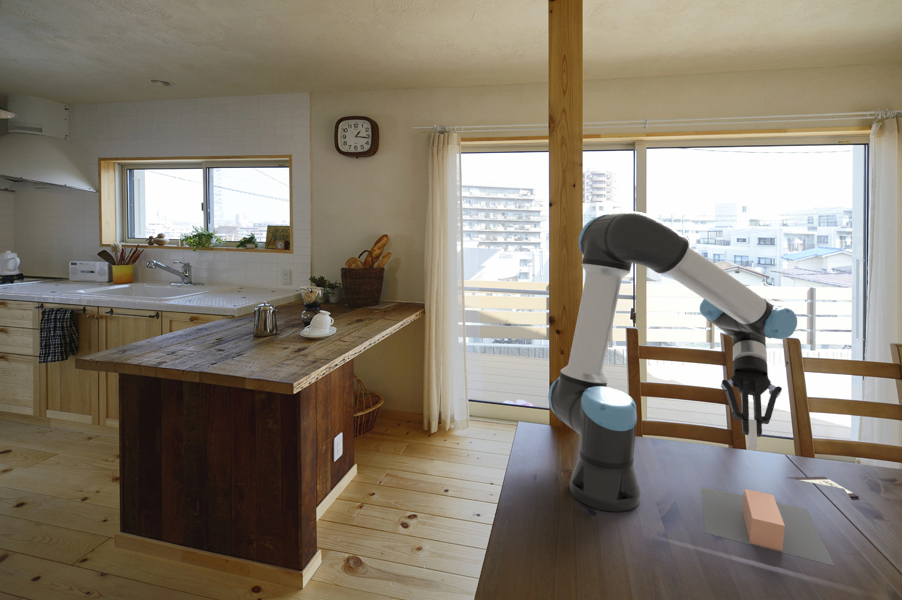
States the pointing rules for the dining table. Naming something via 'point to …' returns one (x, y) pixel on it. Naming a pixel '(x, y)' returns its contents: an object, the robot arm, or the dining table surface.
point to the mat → (729, 523)
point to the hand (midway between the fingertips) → (752, 447)
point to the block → (763, 520)
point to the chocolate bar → (824, 483)
